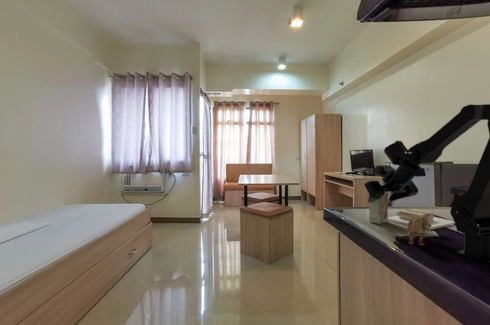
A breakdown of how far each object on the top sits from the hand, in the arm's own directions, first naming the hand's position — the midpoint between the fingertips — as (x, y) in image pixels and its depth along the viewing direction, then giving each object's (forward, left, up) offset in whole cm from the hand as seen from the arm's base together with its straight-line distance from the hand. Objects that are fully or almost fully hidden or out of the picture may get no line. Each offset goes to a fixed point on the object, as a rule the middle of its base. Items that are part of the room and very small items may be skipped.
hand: (379, 201), depth 100 cm
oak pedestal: (+13, -6, -8) cm, 16 cm away
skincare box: (0, 0, -8) cm, 8 cm away
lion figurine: (-9, -20, -8) cm, 24 cm away
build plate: (+14, -7, -8) cm, 18 cm away
